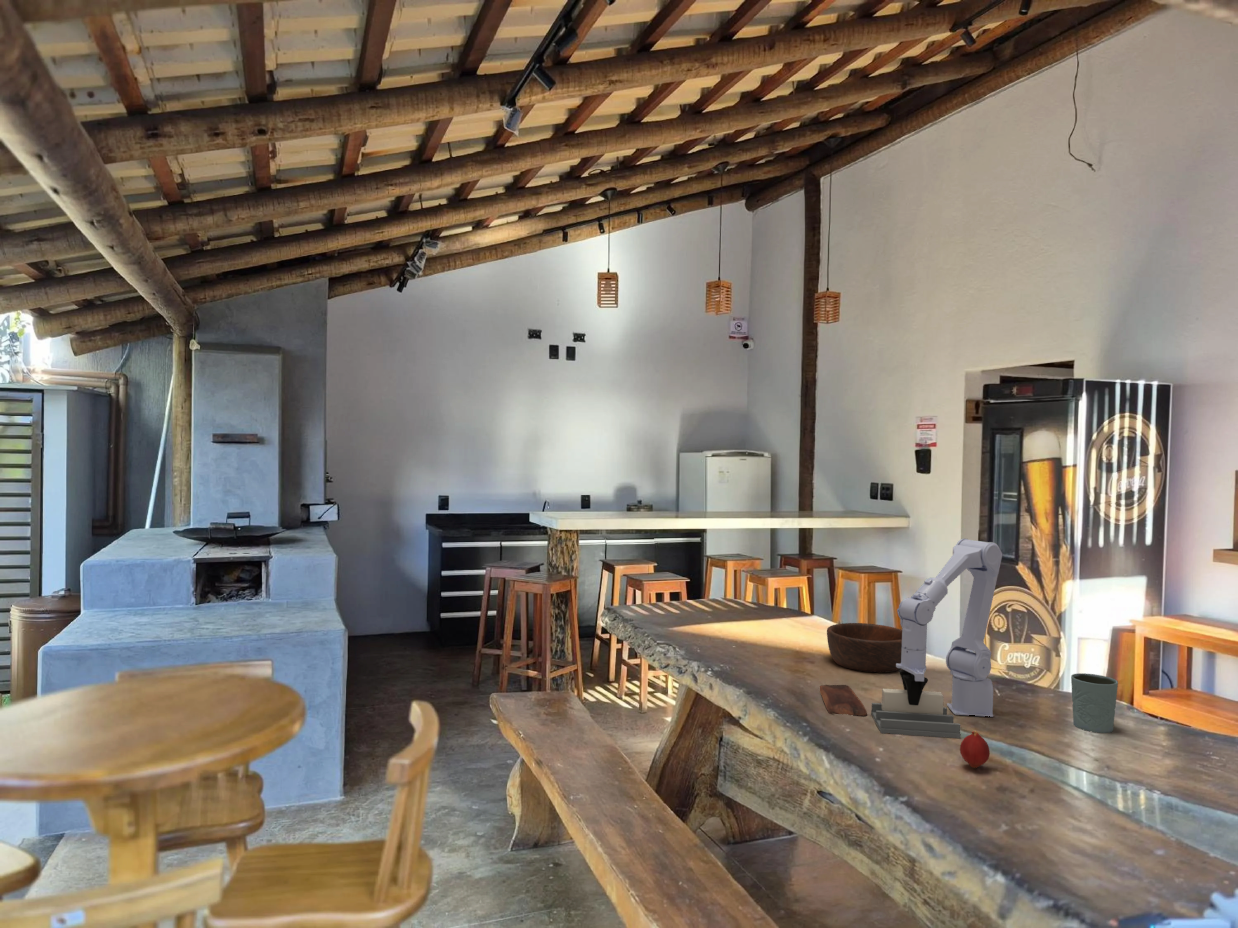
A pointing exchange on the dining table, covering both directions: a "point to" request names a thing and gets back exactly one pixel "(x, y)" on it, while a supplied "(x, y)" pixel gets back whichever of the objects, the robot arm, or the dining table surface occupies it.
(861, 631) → the wooden bowl
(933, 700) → the clay bar
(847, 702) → the wooden tablet
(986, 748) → the onion
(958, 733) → the grooved grey tray
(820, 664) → the dining table surface
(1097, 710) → the dark green cup
